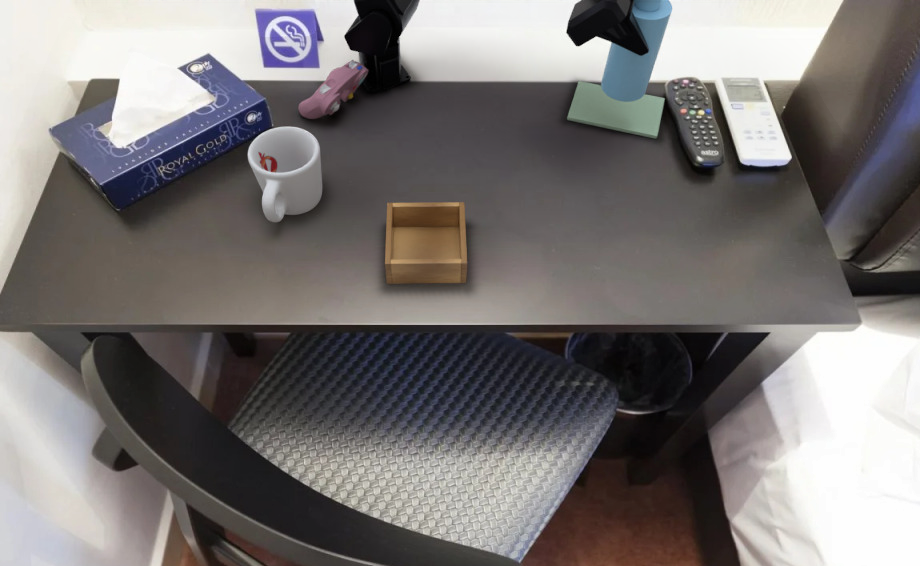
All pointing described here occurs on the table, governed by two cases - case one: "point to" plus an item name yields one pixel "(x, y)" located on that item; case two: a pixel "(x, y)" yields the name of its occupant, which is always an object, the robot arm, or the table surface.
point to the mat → (616, 111)
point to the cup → (287, 171)
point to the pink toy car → (334, 90)
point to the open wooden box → (426, 243)
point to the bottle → (628, 69)
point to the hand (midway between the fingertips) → (649, 38)
